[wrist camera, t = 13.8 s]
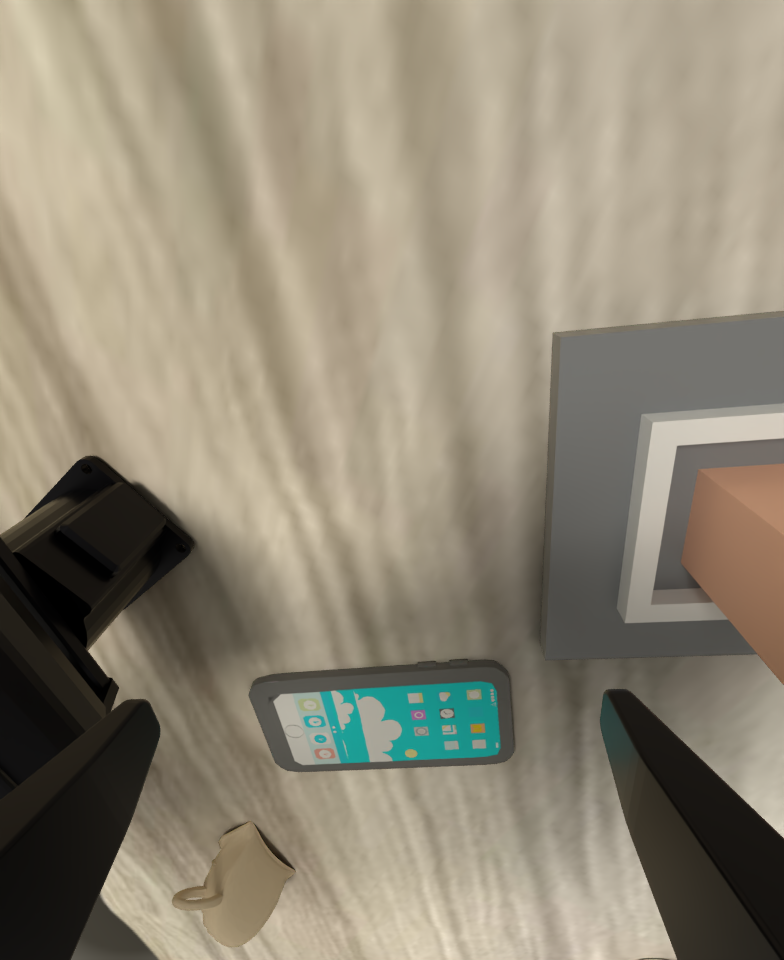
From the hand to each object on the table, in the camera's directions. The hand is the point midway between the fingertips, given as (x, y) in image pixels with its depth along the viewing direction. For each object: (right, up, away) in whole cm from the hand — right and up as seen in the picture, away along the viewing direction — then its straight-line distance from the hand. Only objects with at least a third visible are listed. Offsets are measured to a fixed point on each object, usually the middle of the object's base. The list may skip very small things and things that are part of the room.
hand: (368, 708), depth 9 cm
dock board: (+15, +4, +12) cm, 20 cm away
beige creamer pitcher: (-10, -23, +26) cm, 36 cm away
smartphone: (0, -10, +20) cm, 22 cm away
